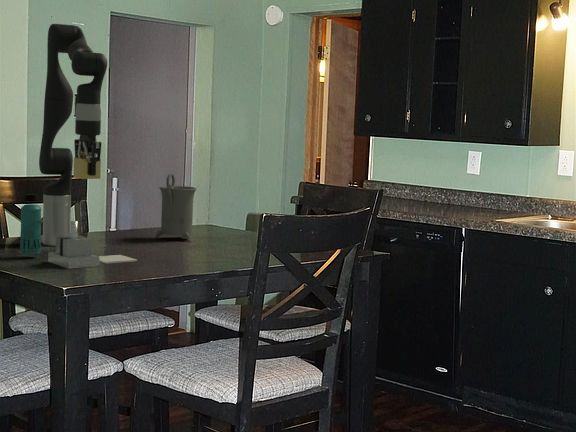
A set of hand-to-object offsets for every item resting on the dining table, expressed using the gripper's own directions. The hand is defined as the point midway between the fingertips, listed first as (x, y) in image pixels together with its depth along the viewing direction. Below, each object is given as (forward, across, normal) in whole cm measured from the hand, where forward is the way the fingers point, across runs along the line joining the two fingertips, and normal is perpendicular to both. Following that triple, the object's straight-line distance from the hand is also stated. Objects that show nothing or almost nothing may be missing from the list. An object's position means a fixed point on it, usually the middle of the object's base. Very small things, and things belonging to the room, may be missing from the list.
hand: (87, 174), depth 281 cm
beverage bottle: (+27, +15, +11) cm, 33 cm away
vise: (+27, -1, +4) cm, 28 cm away
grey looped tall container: (+28, +35, -53) cm, 69 cm away
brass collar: (+1, 0, 0) cm, 1 cm away
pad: (+27, +1, -10) cm, 29 cm away
